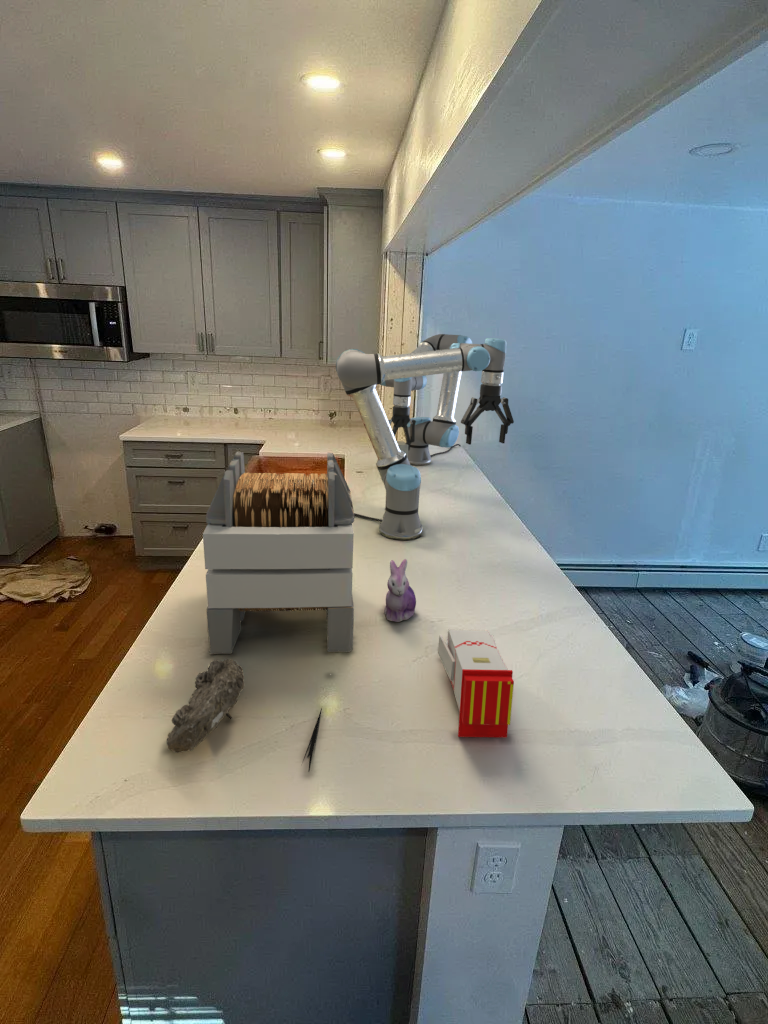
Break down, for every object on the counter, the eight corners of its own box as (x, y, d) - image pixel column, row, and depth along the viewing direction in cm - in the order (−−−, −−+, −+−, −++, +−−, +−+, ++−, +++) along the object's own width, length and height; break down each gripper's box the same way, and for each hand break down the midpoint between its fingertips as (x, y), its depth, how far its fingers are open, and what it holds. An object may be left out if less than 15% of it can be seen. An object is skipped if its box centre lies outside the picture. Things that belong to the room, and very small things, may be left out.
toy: (488, 613, 130) (523, 677, 101) (484, 667, 133) (517, 744, 104) (435, 612, 130) (455, 676, 101) (432, 666, 133) (451, 743, 103)
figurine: (392, 627, 141) (395, 572, 136) (374, 608, 149) (376, 556, 144) (425, 619, 145) (429, 566, 140) (405, 601, 154) (408, 550, 149)
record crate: (229, 585, 158) (221, 442, 144) (346, 584, 161) (350, 444, 148) (206, 656, 126) (193, 481, 112) (353, 652, 130) (358, 483, 116)
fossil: (192, 660, 117) (244, 628, 112) (224, 691, 120) (276, 661, 115) (142, 746, 98) (202, 712, 93) (182, 779, 101) (242, 748, 96)
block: (394, 470, 251) (395, 445, 247) (389, 465, 258) (390, 441, 254) (407, 469, 253) (408, 444, 249) (401, 465, 260) (402, 441, 256)
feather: (331, 679, 122) (336, 673, 122) (307, 777, 96) (313, 769, 95) (324, 675, 122) (329, 669, 121) (298, 772, 95) (304, 764, 95)
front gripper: (464, 385, 193) (458, 446, 200) (527, 385, 200) (520, 444, 208) (454, 382, 199) (449, 441, 207) (516, 382, 207) (510, 439, 214)
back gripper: (383, 407, 240) (381, 460, 248) (424, 407, 245) (421, 459, 253) (378, 404, 247) (376, 456, 254) (418, 404, 252) (415, 455, 260)
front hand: (485, 443), depth 207 cm, fingers open, 13 cm apart
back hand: (398, 457), depth 254 cm, fingers closed on block, 6 cm apart
